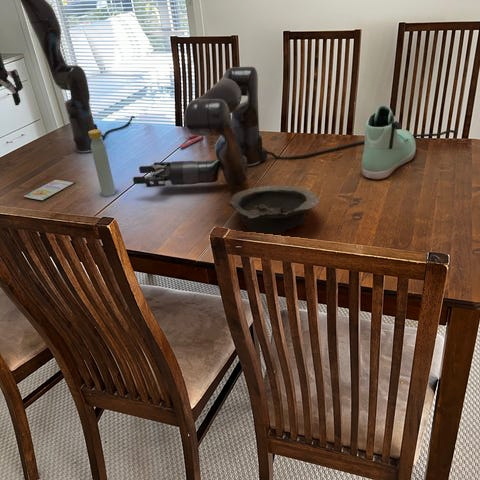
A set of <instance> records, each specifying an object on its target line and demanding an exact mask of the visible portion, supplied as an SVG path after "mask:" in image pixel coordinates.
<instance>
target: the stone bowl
mask: <svg viewBox="0 0 480 480" xmlns="http://www.w3.org/2000/svg"><path fill="white" fill-rule="evenodd" d="M319 203H320V199H319V198H318V197H317V195H316V193H314V192H313V191H311V190H309V189H307V188H302V187H298V186H291V185H277V184H275V185H274V184H271V185H266V186H265V185H262V186H254V187H251V188H248V189H244V190H240V191H238V192H236V193H235V194H233V195H232V196H231V198H230V200H229V203H228V202H227V204H226V205H228V206H230V207H231V208H232V209H234V211H236V212H237V213H238V214H239V215H240V217H241V220H242V223H243V225H244V226H246V227H247V228H248V229H249V232H250V233H251V232H256V233H264V234H273V235H279V236H281V235H284V234H285V233H286V232H285V231H286V230H292V229H294V228H300V227H301V226H303V224H304V220H305V217H306V212H308V211H310V210H312V209H313V208H315V207H317V206H318V204H319Z"/></svg>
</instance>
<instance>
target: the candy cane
mask: <svg viewBox="0 0 480 480" xmlns="http://www.w3.org/2000/svg"><path fill="white" fill-rule="evenodd" d="M203 138H204V136H196V135H193V134H191V133H190V134H189V135H188V139H190V140H189V141H187V142H184V143H182V144H180V146H179V148H180V149H184V148H186V147H188V146H190V145H193V144H194V143H197V142H199V141H200V140H203Z"/></svg>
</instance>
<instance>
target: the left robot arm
mask: <svg viewBox="0 0 480 480" xmlns="http://www.w3.org/2000/svg"><path fill="white" fill-rule="evenodd" d="M19 1H20V4H21V5H22V7H23V10H24V12H25V14H26V17H27V19H28V22H29V24H30V26H31V28H32V30H33V32H34V34H35V36H36V38H37V41H38V43H39V45H40V47H41V50H42V53H43V55H44V57H45V60H46V62H47V66H48V68H49V71H50V74H51V77H52V79H53V82H54V84H55V85H56V86H57V88H59V89H60V90H63V91H69V93H70V98H69V99H67V100H65V102H64V106H65V110H66V114H67V115H66V116H67V118H68V122H69V126H70V130H71V133H72V137H73V138H72V140H73V143H74V145H75V148H76V149H75V150H76V152H77V153H80V154H87V153H92V150H91V142H92V139H90V138H89V133H88V132H89V131H91V130H95V129H98V125H97V123H95V121H94V116H93V113H92V108H91V104H90V102H91V101H90V100H91V94H90V89H89V84H88V78H87V75H86V72H85V70H84V69H83V68H82V67H81V66H79V65H73V64H67V62H66V60H65V58H64V55H63V53H62V50H61V43H62V42H61V40H62V28H61V24H60V22H59V19H58V17H57V15H56V12H55V10H54V8H53V7H52V5H51V4H50V3H49V2H48V1H47V0H19ZM1 53H2V52H0V88H2V87H4V88H5V89H7V90H8V91H9V92H11V95H12V99H13V103H14V105H15V106H20V103H21V101H22V100H21V97H20V93H19V92H20V91H21V90H23V89H24V85H23V83H22V80H21V77H20V75H19V72H18V70H17V69H15V68H14V69H13V70H8V71H7V69H6V66H5V63H4V60H3V57H2V54H1ZM8 77H10V78H11V79H12V80H13V82H14V84H13V83H12V81H10V80H9V79H8ZM133 119H136V117H135V116H134V115H132V116H130V119H129V121H128V122H127V123H125V124H123V125H122V126H118V127H115V128H111V129H109V130H106V131H105V132H104V134H102V137H101V138H102V139H105V138H106V137H107V134H109V133H111V132H114V131H118V130H121V129H124V128H126V127H128V126H129V124H131V122H132V120H133Z"/></svg>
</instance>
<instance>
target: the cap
mask: <svg viewBox="0 0 480 480" xmlns="http://www.w3.org/2000/svg"><path fill="white" fill-rule="evenodd" d="M88 133H89V138H90V139H97V138H100V139H101V138H102V135H103V134H102V131H101V129H98V128H97V129H95V130H91V131H89V132H88Z"/></svg>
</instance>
